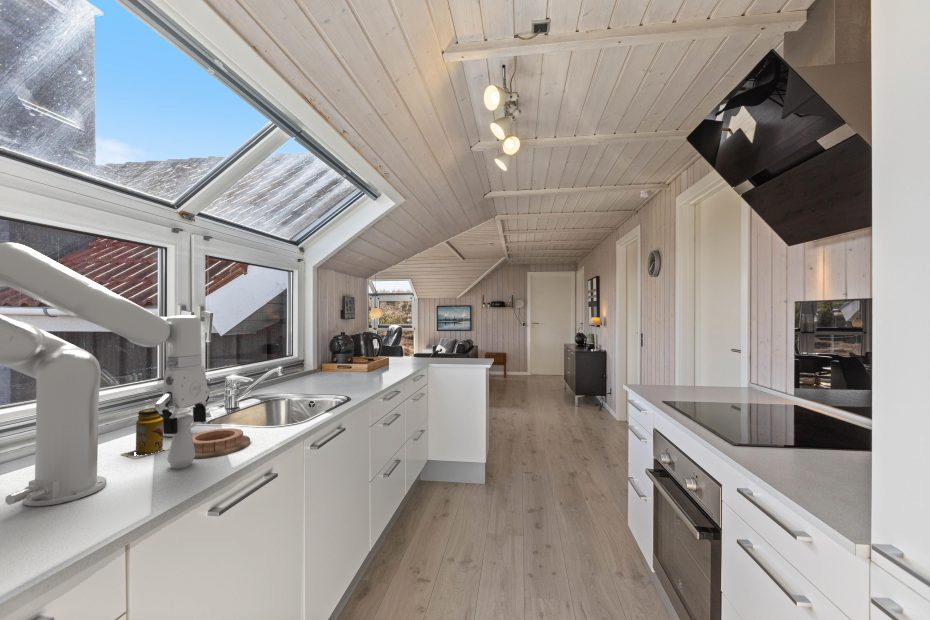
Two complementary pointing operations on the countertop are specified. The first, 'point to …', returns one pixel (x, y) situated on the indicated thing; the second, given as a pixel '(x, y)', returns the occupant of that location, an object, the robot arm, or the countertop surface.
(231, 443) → the brick fire pit
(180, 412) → the cup
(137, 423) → the condiment
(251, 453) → the countertop surface
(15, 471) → the countertop surface
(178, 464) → the salt shaker
